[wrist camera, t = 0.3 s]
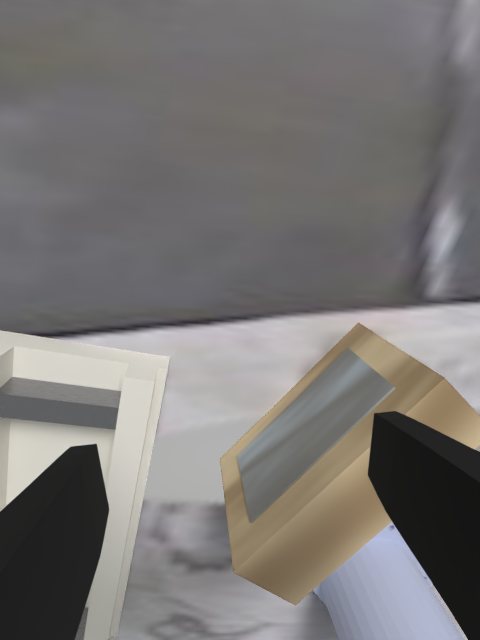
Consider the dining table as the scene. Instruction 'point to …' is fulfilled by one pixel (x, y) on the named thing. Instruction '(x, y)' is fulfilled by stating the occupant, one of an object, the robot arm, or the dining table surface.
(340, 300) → the dining table surface
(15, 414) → the cream rectangular frame
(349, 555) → the beige rectangular panel
